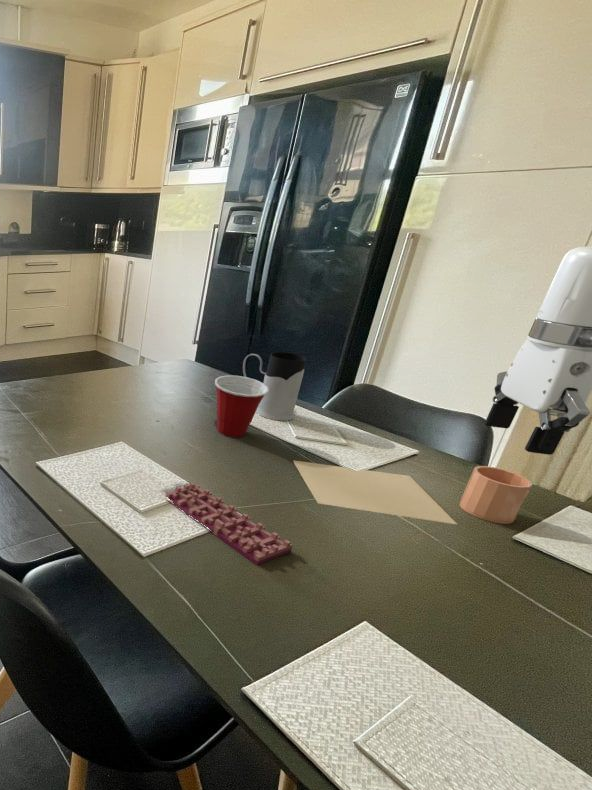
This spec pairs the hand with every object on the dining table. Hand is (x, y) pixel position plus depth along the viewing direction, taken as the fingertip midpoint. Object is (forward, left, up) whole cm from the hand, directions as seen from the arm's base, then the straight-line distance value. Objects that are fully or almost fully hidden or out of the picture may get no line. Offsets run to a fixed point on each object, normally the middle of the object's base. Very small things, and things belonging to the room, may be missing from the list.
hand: (515, 438), depth 78 cm
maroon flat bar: (+44, +17, -14) cm, 49 cm away
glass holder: (+27, -38, -14) cm, 48 cm away
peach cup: (0, 0, -14) cm, 14 cm away
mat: (+17, 0, -14) cm, 22 cm away
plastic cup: (+37, -21, -14) cm, 44 cm away
